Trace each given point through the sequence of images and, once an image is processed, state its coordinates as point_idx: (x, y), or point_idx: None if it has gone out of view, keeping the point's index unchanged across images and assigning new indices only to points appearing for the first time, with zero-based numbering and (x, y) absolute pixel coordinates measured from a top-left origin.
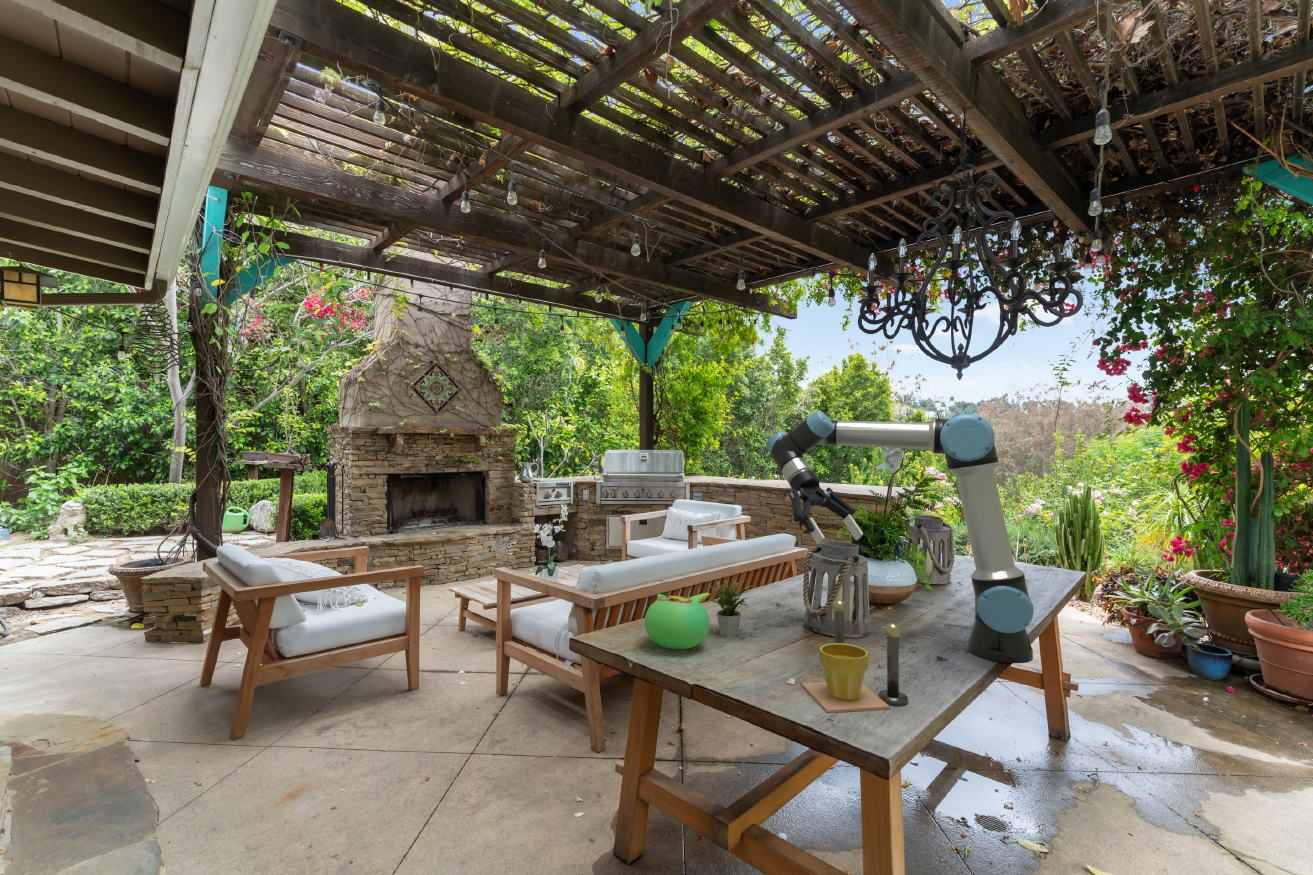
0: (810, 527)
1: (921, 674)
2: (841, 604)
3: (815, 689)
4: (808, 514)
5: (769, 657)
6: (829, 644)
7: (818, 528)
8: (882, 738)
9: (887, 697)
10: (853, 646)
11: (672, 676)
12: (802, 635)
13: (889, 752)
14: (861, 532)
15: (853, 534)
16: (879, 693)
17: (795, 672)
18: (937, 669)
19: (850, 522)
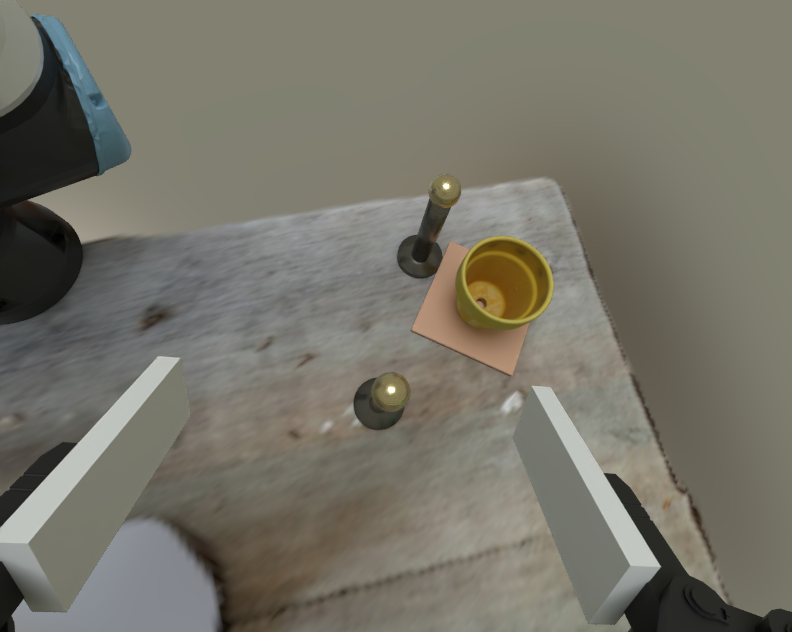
0: (628, 488)
1: (276, 291)
2: (399, 375)
3: (508, 343)
4: (678, 626)
5: (471, 531)
6: (505, 319)
7: (569, 446)
8: (525, 203)
9: (434, 255)
10: (466, 286)
11: (707, 550)
12: (278, 629)
13: (543, 182)
14: (161, 366)
15: (168, 440)
16: (432, 270)
17: (478, 430)
18: (225, 288)
19: (100, 487)
